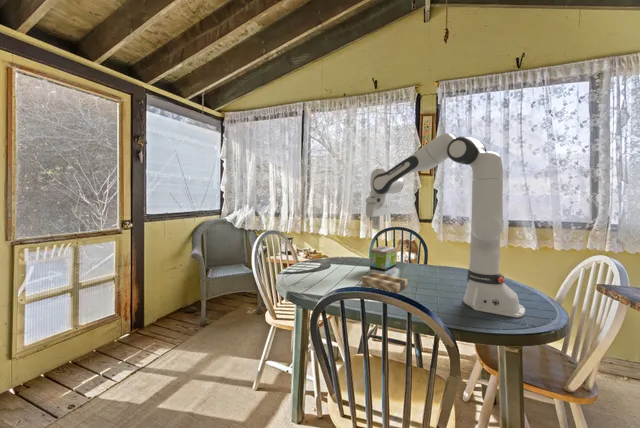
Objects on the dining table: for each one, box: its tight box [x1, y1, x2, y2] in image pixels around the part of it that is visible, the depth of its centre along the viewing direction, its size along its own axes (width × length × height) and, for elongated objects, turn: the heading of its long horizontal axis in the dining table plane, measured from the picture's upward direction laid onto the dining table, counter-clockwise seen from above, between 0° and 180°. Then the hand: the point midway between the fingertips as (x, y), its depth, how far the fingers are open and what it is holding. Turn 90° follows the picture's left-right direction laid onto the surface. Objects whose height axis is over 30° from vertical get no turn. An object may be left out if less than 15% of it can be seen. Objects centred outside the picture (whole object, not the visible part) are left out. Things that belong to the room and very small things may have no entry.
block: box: [371, 215, 385, 230], centre depth 164 cm, size 4×4×7 cm
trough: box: [361, 272, 408, 294], centre depth 150 cm, size 19×12×4 cm, turn 51°
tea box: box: [368, 245, 398, 276], centre depth 171 cm, size 15×10×15 cm
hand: (377, 224), depth 165 cm, fingers closed on block, 4 cm apart
